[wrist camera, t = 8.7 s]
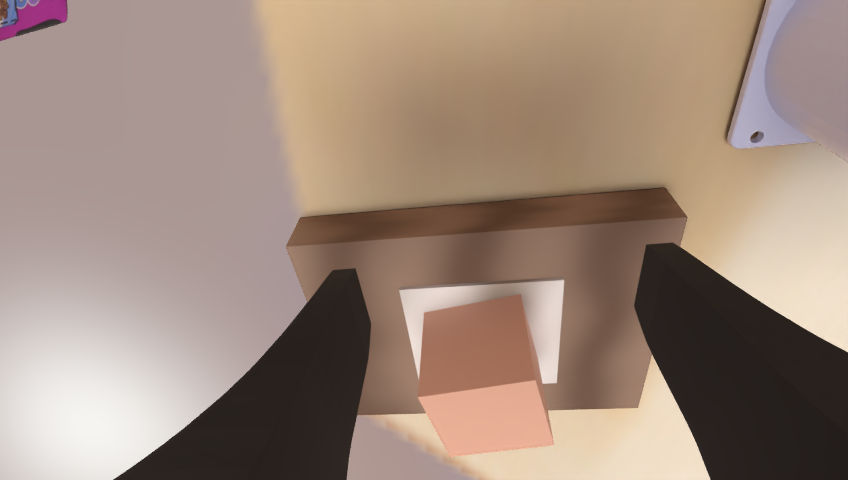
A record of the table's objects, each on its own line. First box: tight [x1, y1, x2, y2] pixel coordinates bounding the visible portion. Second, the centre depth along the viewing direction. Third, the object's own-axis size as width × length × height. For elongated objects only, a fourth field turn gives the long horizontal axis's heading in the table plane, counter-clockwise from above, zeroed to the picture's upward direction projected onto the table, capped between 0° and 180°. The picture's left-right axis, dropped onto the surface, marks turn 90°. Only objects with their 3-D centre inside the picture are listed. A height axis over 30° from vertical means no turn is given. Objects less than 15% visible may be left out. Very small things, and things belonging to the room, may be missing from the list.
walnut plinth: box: [286, 188, 687, 415], centre depth 25 cm, size 18×14×3 cm
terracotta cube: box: [418, 294, 554, 457], centre depth 22 cm, size 5×5×5 cm
